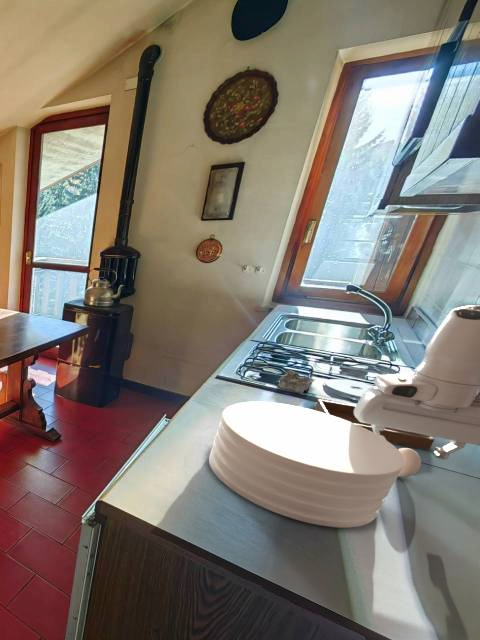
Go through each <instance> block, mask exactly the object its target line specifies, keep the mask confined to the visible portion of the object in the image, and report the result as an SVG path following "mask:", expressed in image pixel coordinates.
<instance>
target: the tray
mask: <svg viewBox="0 0 480 640" xmlns="http://www.w3.org/2000/svg"><path fill="white" fill-rule="evenodd" d="M355 407H356V405H353V404H347V403H341V402H336V401H330V400H326V399H325V400H324V399H320V398H319V399H317V401H316V404H315V406H314V410H315V411H319V412H322V413H326V414H329V415H332V416H335V417H338V418H341V419H344V420H346V421H349V422H351V423H354V424H356V425H359V426H361V427H363V428H365V429H367V430H369V431H371V432H373V430H372V427H371V425H372V424H367V423H362V422H359V421H358V420H357V418H356V417H355V415H354V409H355ZM379 432H380V435H382V436H384V437H385V438H386V440H387V441H388V442H390V443H391V444H396V445H400V446H406V447H410V448H415V449H421V450H426V451H429V450H430V449H431V447H432V446H433V444H434V442H435V438H434V437H433V436H428V435H423V434H418V433H413V432H408V431H402V430H397V429H392V428H387V427H385V428H384V430H383V431H380V430H379Z"/></svg>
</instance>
